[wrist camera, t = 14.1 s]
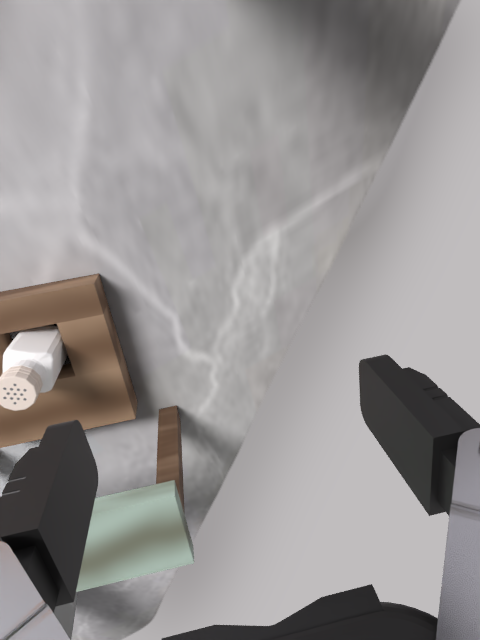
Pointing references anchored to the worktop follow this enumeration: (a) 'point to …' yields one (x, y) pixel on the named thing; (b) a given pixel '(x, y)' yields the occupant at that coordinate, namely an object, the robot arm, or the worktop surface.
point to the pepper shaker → (31, 366)
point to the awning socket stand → (94, 411)
